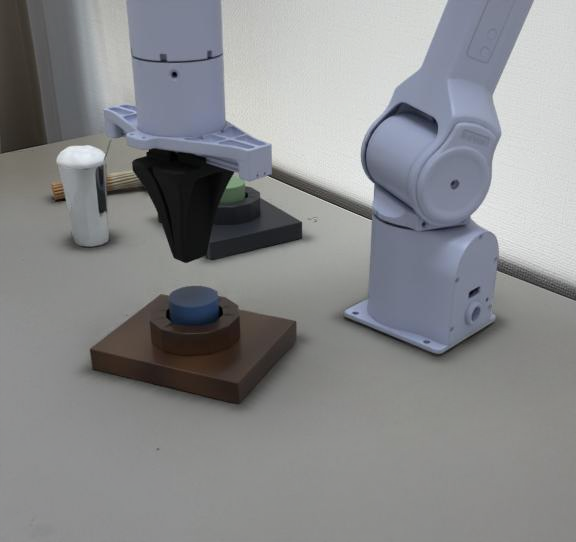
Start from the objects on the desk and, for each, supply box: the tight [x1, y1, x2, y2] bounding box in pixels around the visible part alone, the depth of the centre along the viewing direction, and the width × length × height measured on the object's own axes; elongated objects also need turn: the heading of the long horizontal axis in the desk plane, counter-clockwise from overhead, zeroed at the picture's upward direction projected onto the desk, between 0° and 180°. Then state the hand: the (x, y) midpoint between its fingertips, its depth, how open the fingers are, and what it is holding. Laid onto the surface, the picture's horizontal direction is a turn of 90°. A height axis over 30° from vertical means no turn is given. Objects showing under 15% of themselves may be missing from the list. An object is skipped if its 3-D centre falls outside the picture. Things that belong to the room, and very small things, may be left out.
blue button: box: [168, 285, 219, 326], centre depth 63 cm, size 4×4×2 cm
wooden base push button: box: [89, 293, 297, 405], centre depth 64 cm, size 12×10×4 cm
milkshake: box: [55, 138, 113, 248], centre depth 82 cm, size 4×5×10 cm
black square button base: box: [157, 185, 303, 260], centre depth 86 cm, size 12×10×4 cm
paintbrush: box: [50, 169, 143, 201], centre depth 97 cm, size 4×3×20 cm
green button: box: [220, 176, 246, 203], centre depth 85 cm, size 4×4×2 cm
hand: (190, 256), depth 61 cm, fingers closed
